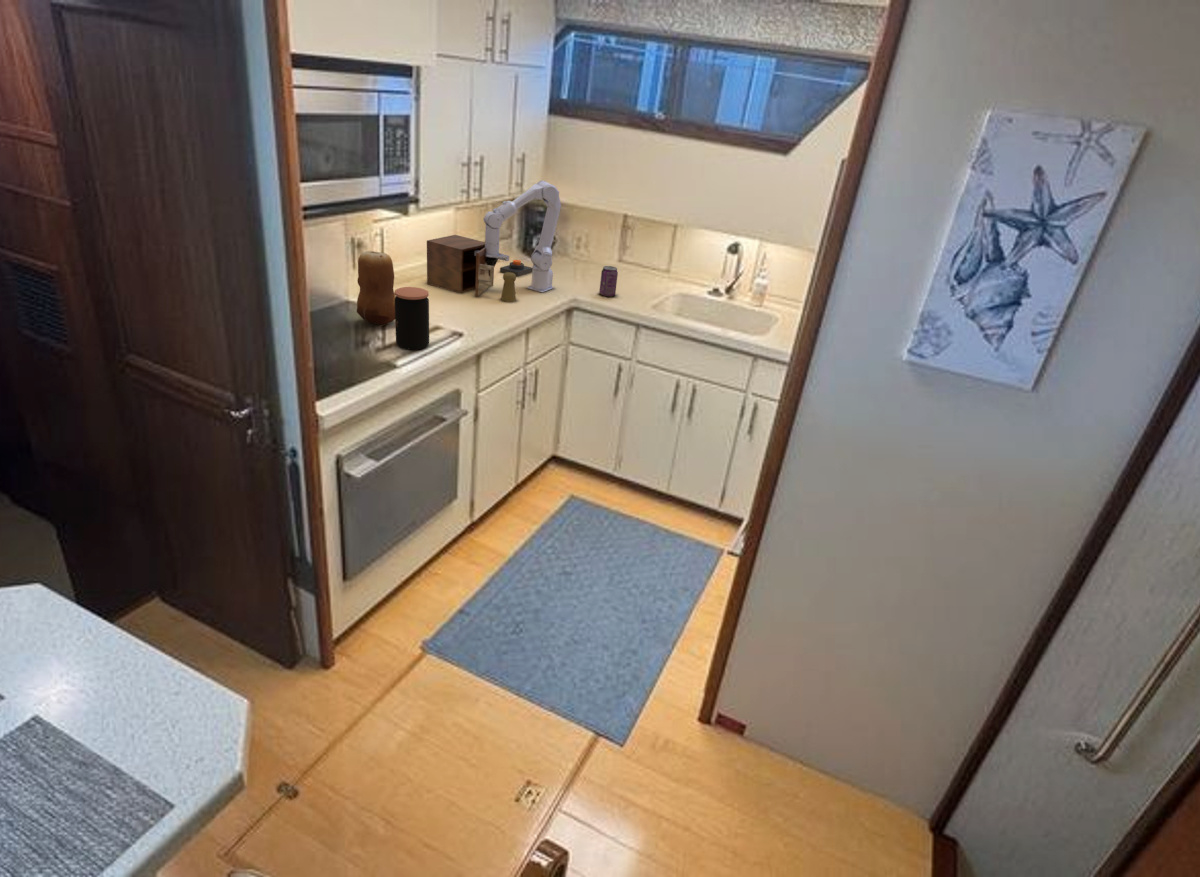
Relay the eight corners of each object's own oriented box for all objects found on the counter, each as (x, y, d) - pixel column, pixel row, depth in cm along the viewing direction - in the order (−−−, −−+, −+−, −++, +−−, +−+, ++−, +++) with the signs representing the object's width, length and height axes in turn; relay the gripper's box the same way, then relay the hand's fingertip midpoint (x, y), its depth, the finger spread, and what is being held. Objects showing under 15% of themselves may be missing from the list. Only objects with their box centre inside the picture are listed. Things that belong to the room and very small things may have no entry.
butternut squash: (391, 315, 250) (389, 246, 239) (404, 328, 241) (402, 256, 229) (352, 319, 243) (348, 247, 231) (364, 331, 233) (360, 258, 222)
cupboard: (487, 285, 296) (489, 243, 288) (461, 293, 282) (461, 249, 274) (454, 276, 303) (455, 234, 295) (427, 283, 289) (426, 240, 281)
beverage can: (605, 291, 308) (608, 264, 302) (618, 295, 304) (621, 268, 299) (595, 294, 302) (598, 267, 297) (609, 298, 299) (612, 271, 293)
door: (503, 287, 296) (505, 246, 287) (491, 299, 280) (492, 255, 271) (488, 285, 296) (489, 243, 288) (475, 296, 280) (476, 253, 272)
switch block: (514, 267, 326) (515, 259, 324) (532, 272, 322) (533, 263, 320) (499, 272, 317) (500, 263, 315) (517, 277, 313) (518, 268, 311)
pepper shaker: (513, 302, 278) (514, 275, 273) (498, 300, 279) (500, 273, 274) (517, 298, 284) (519, 272, 278) (503, 296, 284) (504, 270, 279)
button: (515, 263, 320) (515, 259, 319) (522, 264, 319) (522, 261, 318) (511, 264, 317) (511, 260, 316) (517, 266, 316) (517, 262, 315)
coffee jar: (407, 337, 234) (405, 284, 225) (435, 343, 231) (435, 290, 223) (389, 346, 224) (387, 292, 216) (418, 353, 222) (417, 299, 214)
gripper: (471, 241, 279) (471, 274, 285) (505, 247, 276) (503, 280, 283) (478, 238, 285) (477, 271, 291) (511, 244, 282) (510, 276, 289)
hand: (491, 275), depth 287 cm, fingers closed
